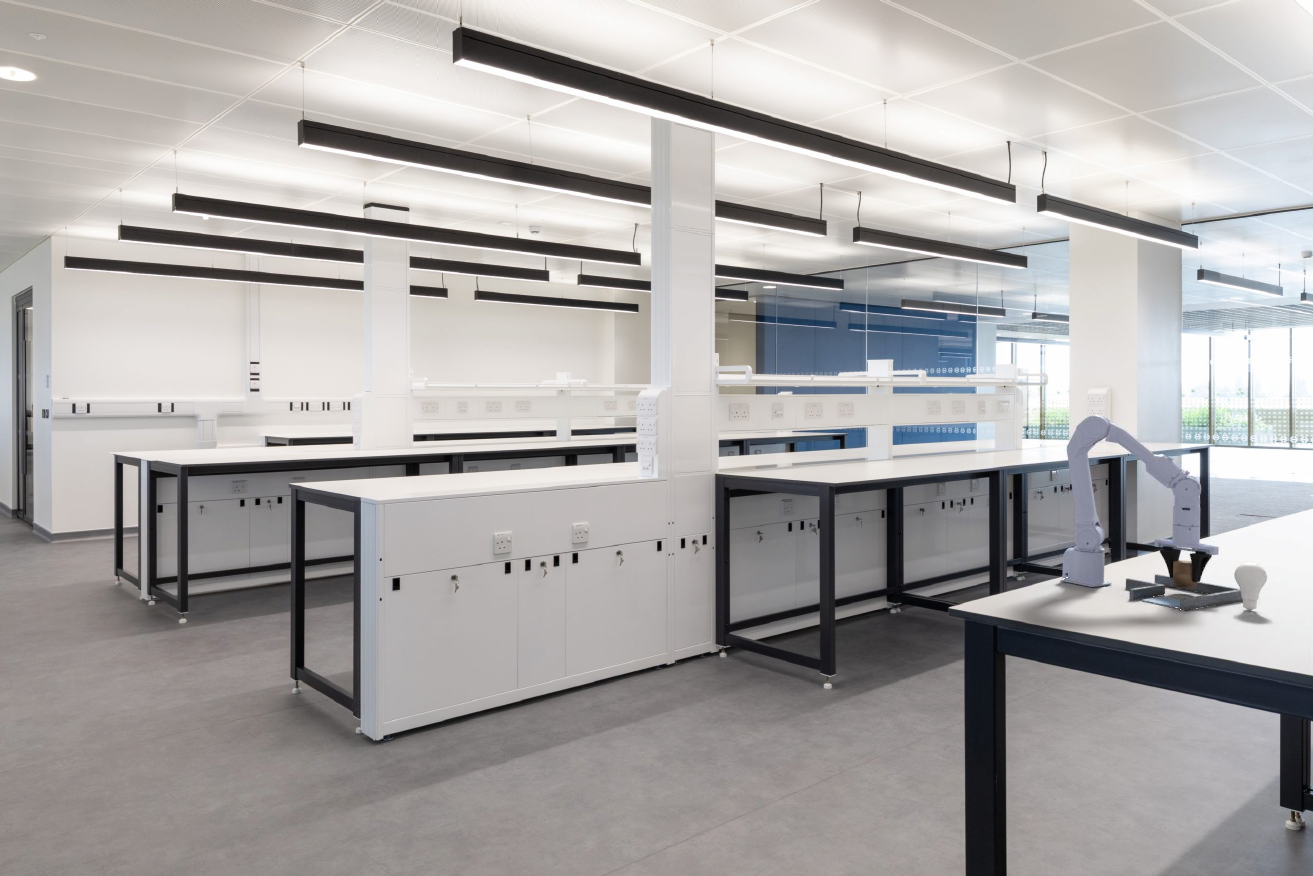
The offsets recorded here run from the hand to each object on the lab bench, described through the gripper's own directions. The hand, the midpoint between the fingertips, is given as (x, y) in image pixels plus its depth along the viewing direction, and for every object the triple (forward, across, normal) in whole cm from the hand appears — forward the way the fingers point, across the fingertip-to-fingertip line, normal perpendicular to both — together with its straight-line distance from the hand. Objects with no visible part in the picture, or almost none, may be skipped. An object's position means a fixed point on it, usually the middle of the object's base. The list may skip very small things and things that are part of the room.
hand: (1184, 579), depth 211 cm
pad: (+4, -4, +13) cm, 14 cm away
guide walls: (+4, 0, +6) cm, 7 cm away
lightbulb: (+4, -17, +4) cm, 18 cm away
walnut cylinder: (+2, 0, 0) cm, 2 cm away
